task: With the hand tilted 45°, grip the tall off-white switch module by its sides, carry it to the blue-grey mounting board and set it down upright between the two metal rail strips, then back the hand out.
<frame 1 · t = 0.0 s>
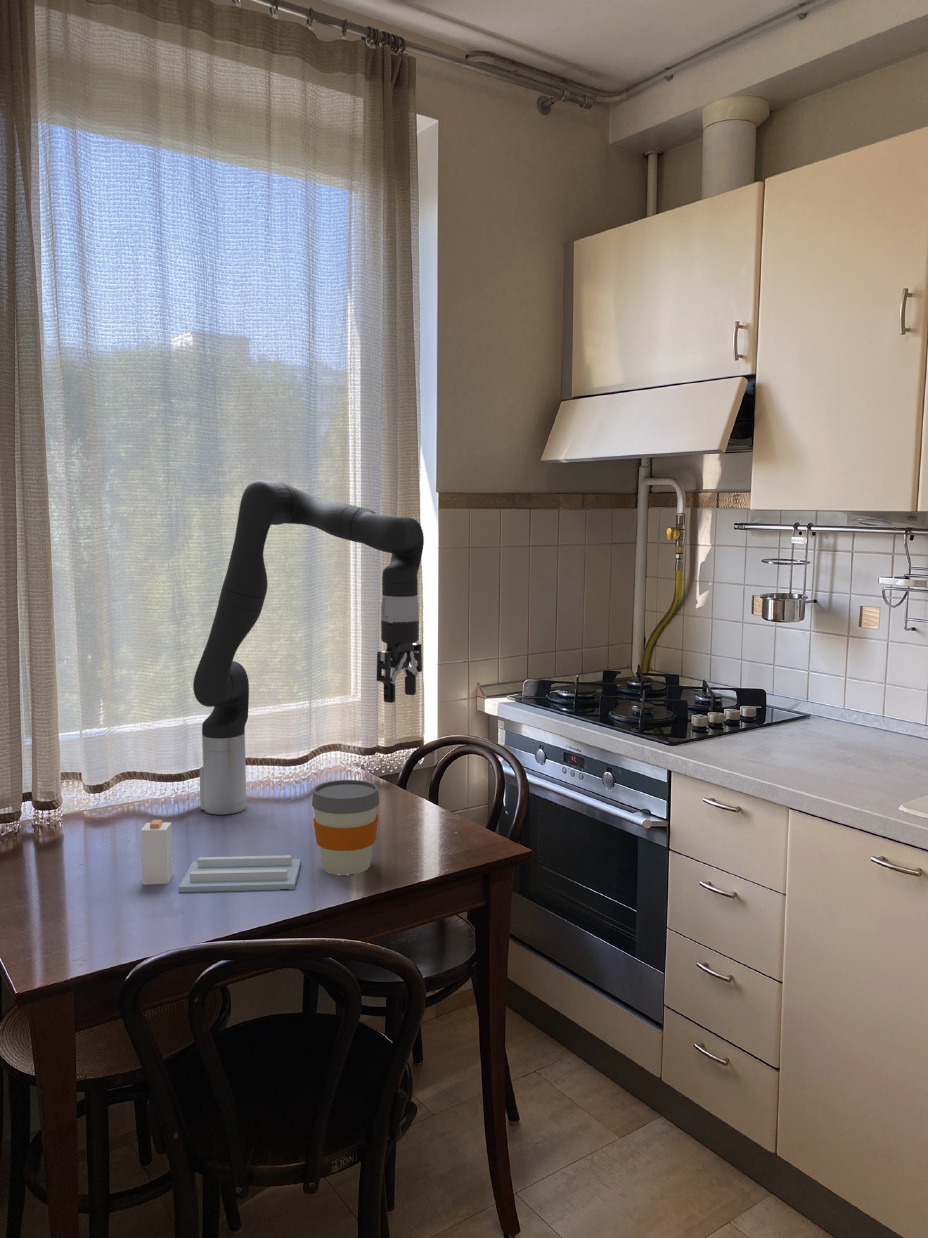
hand: (400, 698, 185), 29 cm above the table, tool pointing down, fingers open, 8 cm apart
mounting board: (242, 877, 168), on the table
switch module: (158, 879, 166), on the table
reusable coffee cup: (346, 867, 173), on the table
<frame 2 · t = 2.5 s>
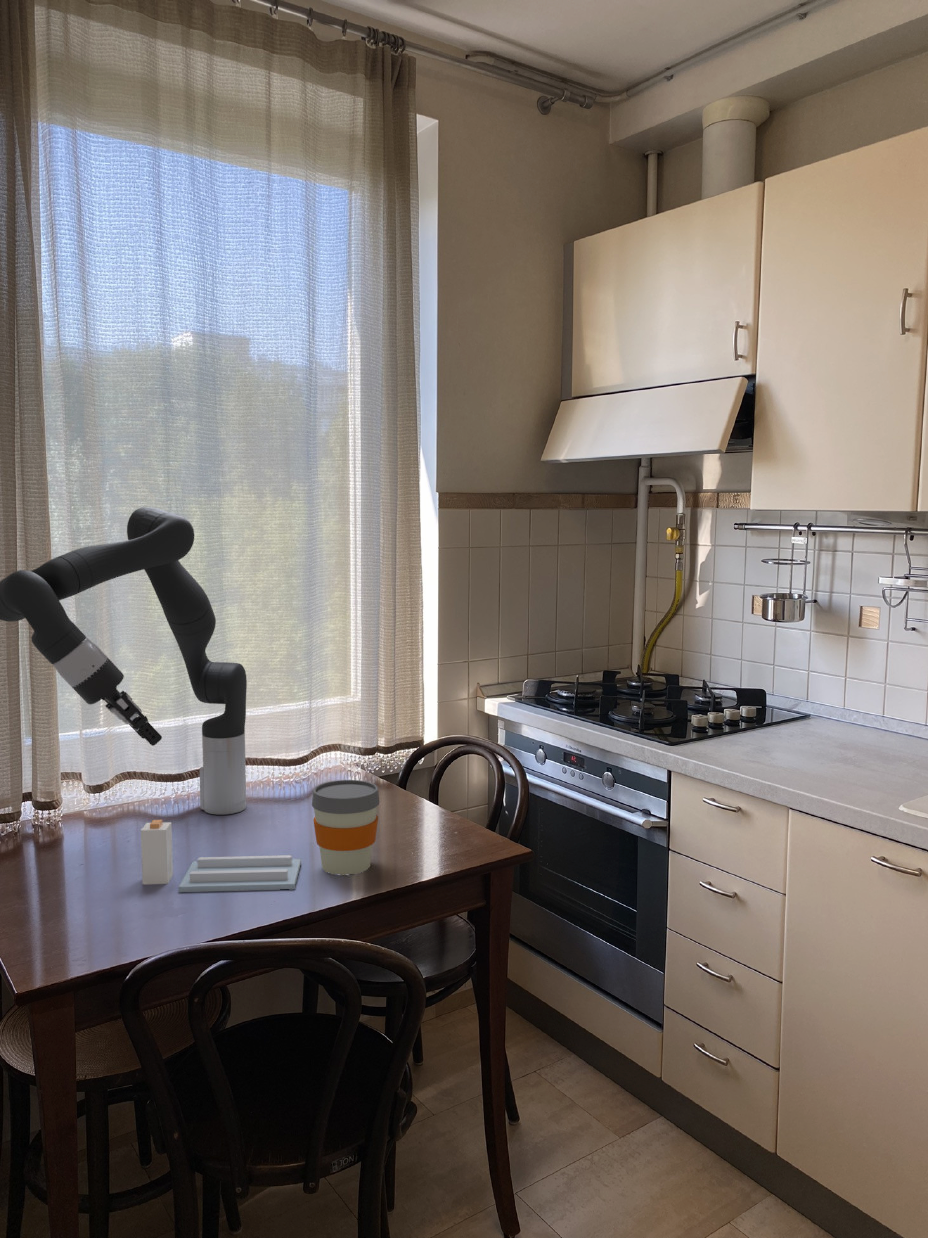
hand: (152, 738, 161), 27 cm above the table, tool tilted 40°, fingers open, 8 cm apart
nothing on the table moved.
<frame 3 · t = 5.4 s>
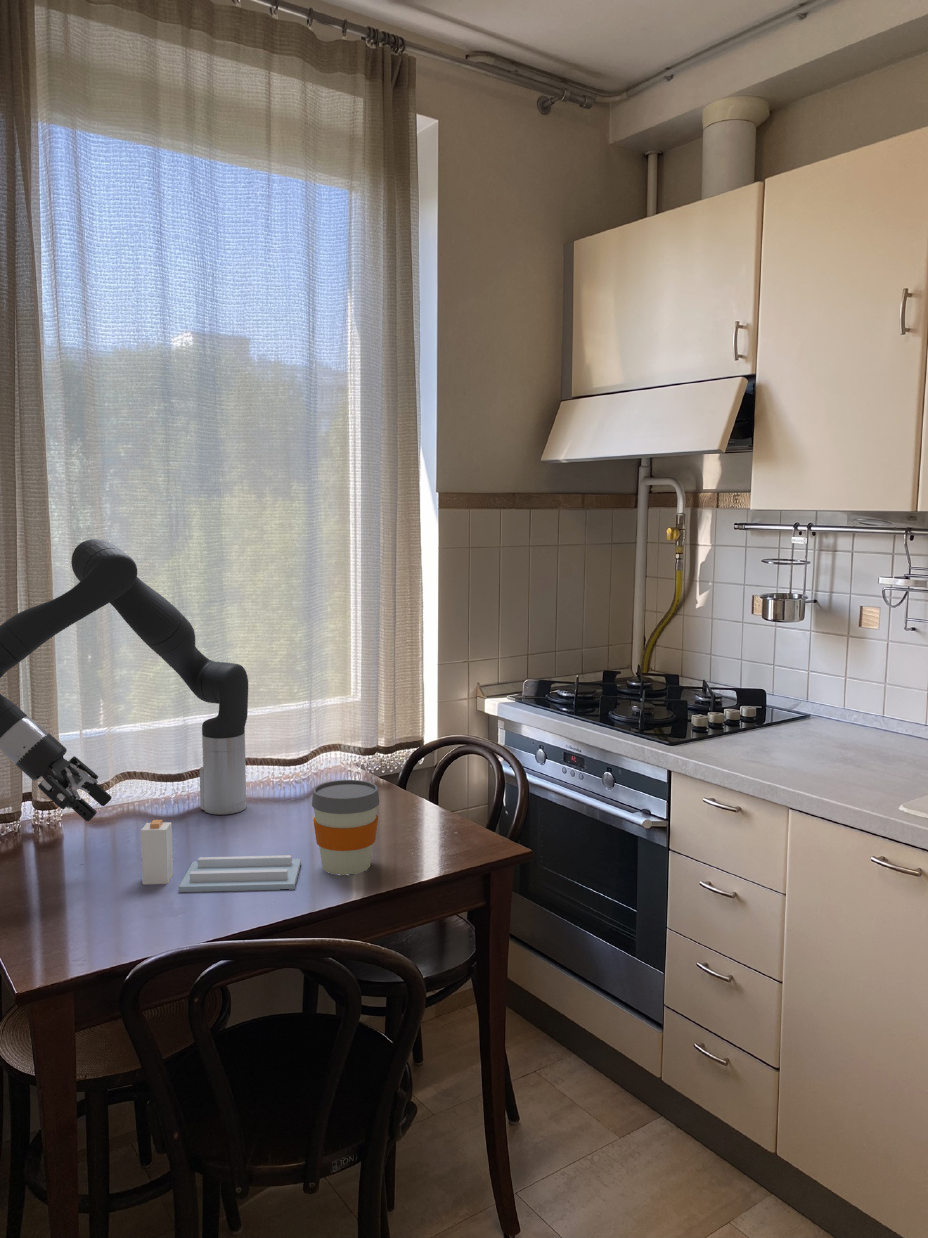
hand: (100, 809, 164), 13 cm above the table, tool tilted 45°, fingers open, 8 cm apart
nothing on the table moved.
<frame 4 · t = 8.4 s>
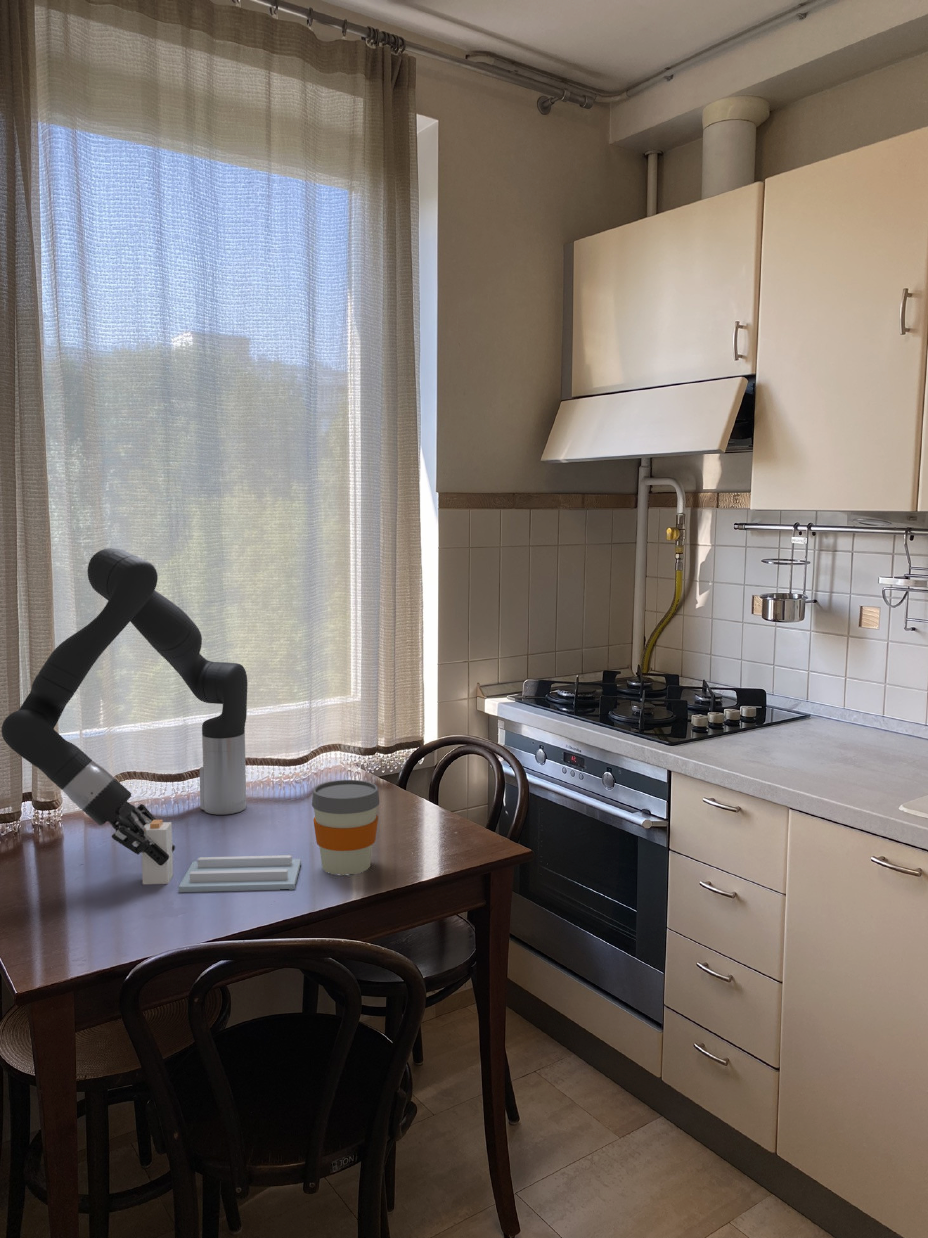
hand: (168, 856, 166), 4 cm above the table, tool tilted 45°, fingers closed on switch module, 4 cm apart
switch module: (158, 879, 166), on the table, touching gripper
everything else where it was.
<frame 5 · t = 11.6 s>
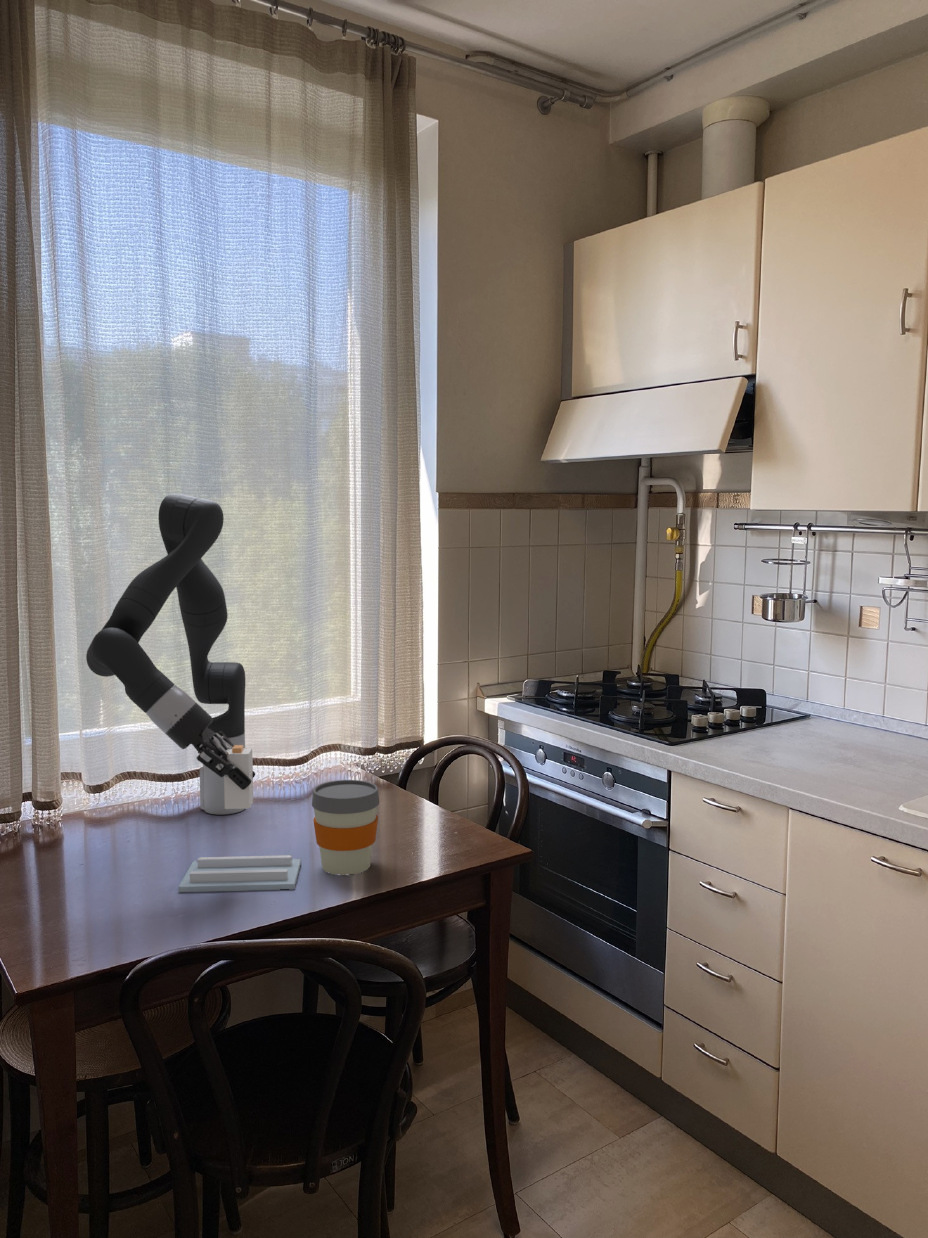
hand: (249, 781, 166), 18 cm above the table, tool tilted 45°, fingers closed on switch module, 4 cm apart
switch module: (239, 805, 166), point 14 cm above the table, touching gripper
everything else where it was.
when the fingers open (7 cm above the table, at t = 14.6 s): switch module drops 1 cm, resting on mounting board.
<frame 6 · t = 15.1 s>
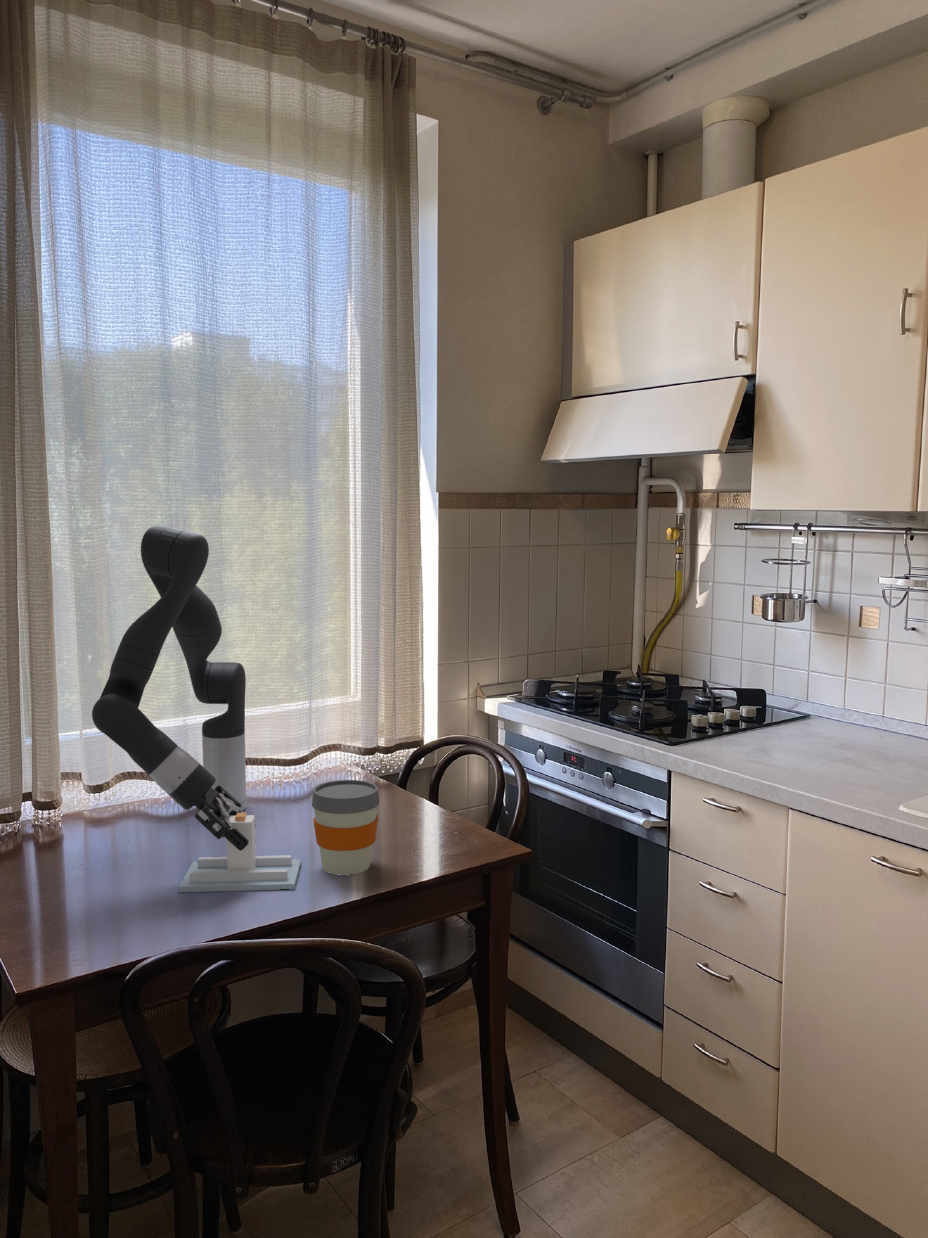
hand: (249, 838, 167), 7 cm above the table, tool tilted 45°, fingers open, 8 cm apart
switch module: (242, 872, 167), point 1 cm above the table, touching mounting board
everything else where it was.
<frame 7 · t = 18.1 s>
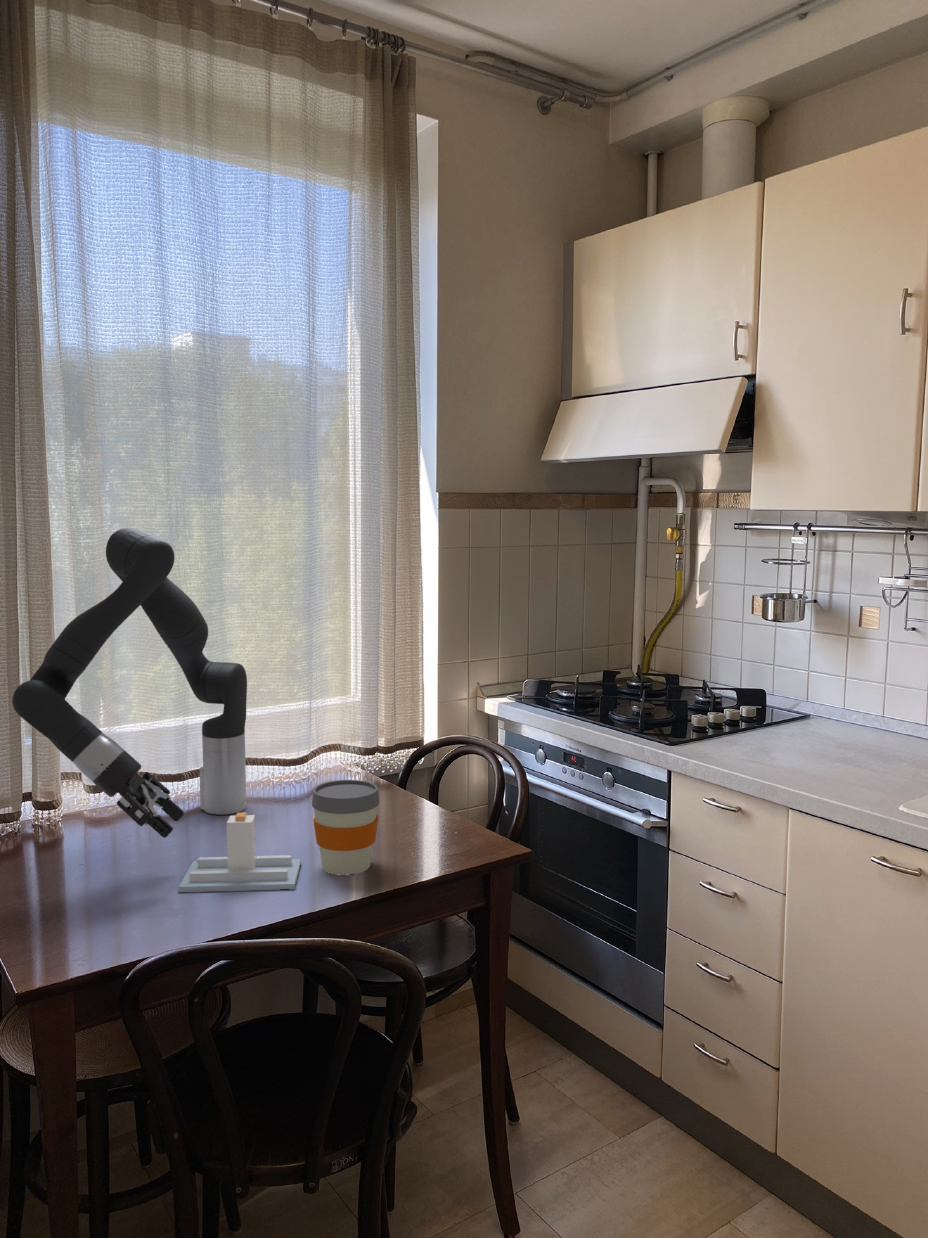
hand: (175, 825, 166), 10 cm above the table, tool tilted 45°, fingers open, 8 cm apart
nothing on the table moved.
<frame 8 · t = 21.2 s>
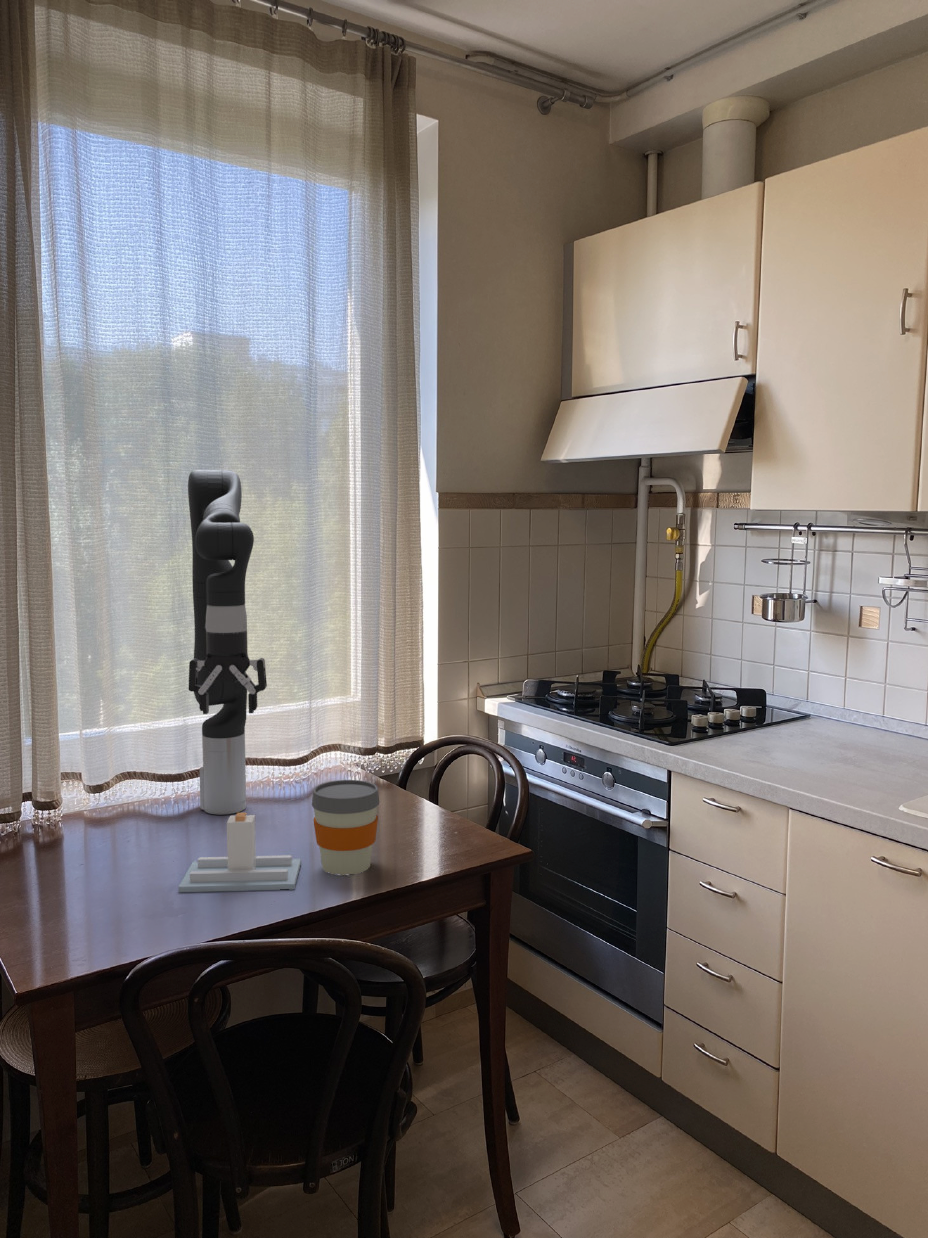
hand: (228, 712, 175), 28 cm above the table, tool pointing down, fingers open, 8 cm apart
nothing on the table moved.
at the end: switch module inside the target area on the mounting board (0.1 cm from its centre), point 1.0 cm above the mounting board's base; switch module tilted 0°; the gripper is holding nothing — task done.
